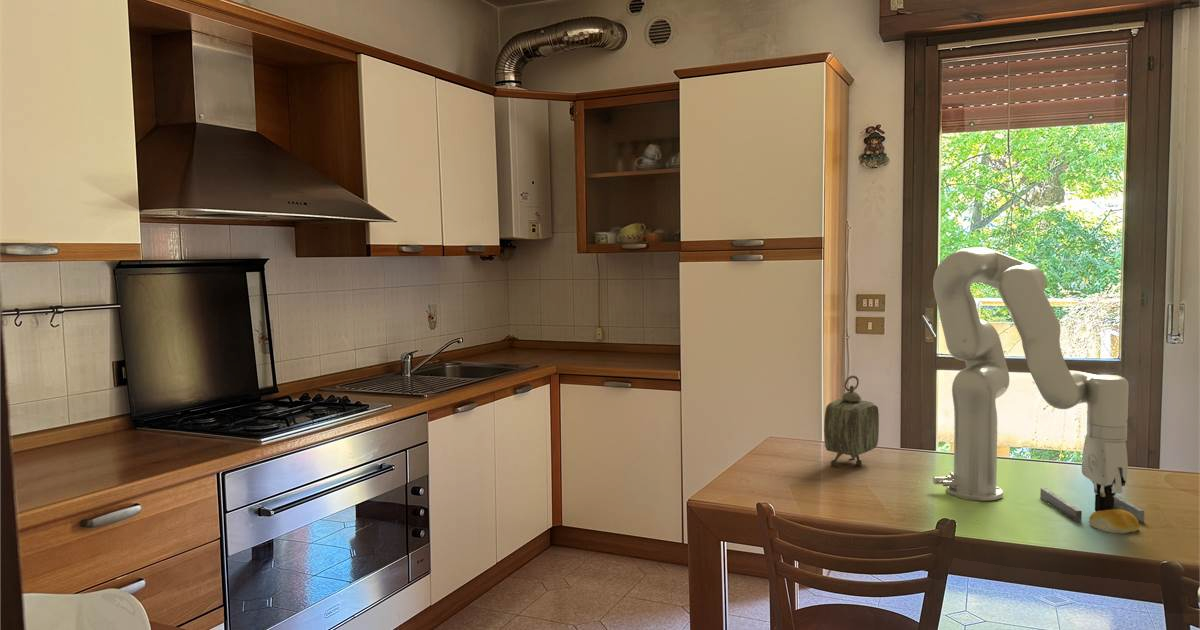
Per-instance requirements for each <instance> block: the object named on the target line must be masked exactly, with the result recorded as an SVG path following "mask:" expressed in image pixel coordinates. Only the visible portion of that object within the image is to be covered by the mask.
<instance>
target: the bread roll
mask: <svg viewBox="0 0 1200 630" xmlns="http://www.w3.org/2000/svg"><path fill="white" fill-rule="evenodd" d="M1088 522H1089V524H1090V526H1091V527H1093V528H1094V529H1097V530H1100V531H1103V532H1104V533H1105V532H1106V533H1109V534H1110V533H1111V534H1128V533H1133V532H1134V533H1135V532H1137V531H1138V530H1139V529H1140V522H1138V520H1137V518H1136V517H1135V516H1134V515H1133V514H1131V513H1130V512H1128V511H1125V510H1122V509H1115V508H1114V509H1111V510H1103V511H1094V512H1092V513H1091V514H1090V516H1089V518H1088Z"/></svg>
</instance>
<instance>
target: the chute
mask: <svg viewBox="0 0 1200 630" xmlns="http://www.w3.org/2000/svg"><path fill="white" fill-rule="evenodd" d="M1039 497H1040V500H1042V501H1043V502H1045V503H1046V504H1048V503H1049V504H1048V505H1050V506H1051V507H1053V508H1054V509H1055V510H1057V511H1058V512H1060V513H1062V514H1063V515H1065V516H1066V517H1067V518H1069V519H1071V520H1072V521H1074V522H1075V523H1082V513H1083V511H1082V510H1081V509H1080V508H1078V507H1076V506H1075V505H1073V504H1072V503H1070V502H1069V501H1067V500H1065V499H1064V498H1062V497H1060V496H1059V495H1057V494H1056V493H1054V492H1053V491H1051V490H1050V489H1048V488H1046V487H1041V488H1040V496H1039ZM1114 509H1122V510H1125V511H1128V512H1130V513H1131V514H1133V515H1134V516H1135V517H1136V518H1137V520H1138V522H1139V523H1140V522H1141V523H1142V522H1145V510H1144V509H1142V508H1140V507H1139V506H1137V505H1135V504H1133V503H1132V502H1129V501H1128V500H1126V499H1124V498H1122V497H1120V496H1119V495H1117V494H1116V496H1115V497H1114Z"/></svg>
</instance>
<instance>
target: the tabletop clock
mask: <svg viewBox="0 0 1200 630" xmlns="http://www.w3.org/2000/svg"><path fill="white" fill-rule="evenodd" d="M851 379H855V380H856V385H855V386H853V385H850V386H849V388H848V387H847V384H848V382H849V380H851ZM859 384H860V383H859V378H858V377H857V376H856V375H849V376H848V377H847V378H846V379H845V382H844V389H845V391H847V392H845V393H844V394H843V395H842V398H838V399H836V400H833V401H831V402H829V403H828V404H827V405H826V407H825V412H824V419H823V420H824V422H823V423H824V425H823V432H824V433H823V435H824V436H823V437H824V445H825V447H824V448H825V450H826V451H828V452H832V453H837V454H836V456H835V458H834V459H833V460H831V461H830V466H832V467H836V466H837V461H838V460H839V458H840V457H841V456H842V455H847V456H850V458H852V459H855V458H856V461H855V464H856V466H858V467H859V466H861V465H862V464H863V461H862V460H861V459H860V456H859V455H863V454H865V453H868V452H871V451H872V450H874V449H876V448H877V446H878V443H879V437H880V436H879V433H880V431H879V430H880V420H879V419H880V418H879V417H880V415H879V407H878V406H877V405H876V404H874V402H872V401H867V400H862V397H861V395H860V394H859V393H858V392H856V391H855V390H856V389H857V388H858V387H859Z"/></svg>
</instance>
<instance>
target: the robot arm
mask: <svg viewBox="0 0 1200 630" xmlns="http://www.w3.org/2000/svg"><path fill="white" fill-rule="evenodd" d="M933 274H934V275H933V281H932V286H933V293H934V297H935V298H934V299H935V301H936V304H937V308H938V314H939V318H940V323H941V327H942V332H943V336H944V339H945V340H944V341H945V344H946V349H947V350H948V352H949V354H950V355H951V357H953V358H954V359H956V360H959V361H962V362H963V361H964V362H965V366H966V367H965V368H962V369H961V370H959V372H957V374H956V375H955V376H954V379H953V381H952V387H951V393H952V403H953V413H954V415H953V416H954V418H953V420H954V422H953V423H954V425H953V430H954V435H953V438H954V439H953V441H954V442H953V447H954V448H953V471H949V474H948V475H946V476H933V477H932V481H933V482H932V483H933V485H941V486H942V487H946V491H947V493H949V494H950V495H952V496H954V497H955V498H961V499H965V500H968V501H969V500H971V501H979V502H980V501H981V502H982V501H983V502H986V501H988V502H989V501H997V500H1000V499H1001V498H1003V496H1004V490H1003V489H1002V488H1001V487H999V486H997V471H998V470H997V467H998V466H997V463H998V462H997V461H998V412H997V404H996V399H997V398H999V397H1001V396H1003V395H1004V394H1005V393H1006V391H1007V390H1008V388H1009V386H1010V374H1009V368H1008V365H1007V361H1006V356H1005V353H1004V349H1003V346H1002V345H1003V344H1002V342H1001V339H1000V338H1001V337H1000V335H999V333H998V331H997V330H996V328H995V327H994V326H993V325H992V324H991V323H990V322H989V321H986V320H984V319H981V318H980V316H979V312H978V306H977V303H976V301H975V298H974V295H973V293H972V292H971V285H972V284H977V283H981V284H984V285H987V286H989V287H991V288H994V289H996V290H998V293H999V295H1000V297H1001V300H1002V301H1003V303H1004V305H1005V308H1006V309H1007V311H1008V314H1009V316H1010V318H1011V320H1012V322H1013V324H1014V326H1015V328H1016V330H1017V333H1018V334H1019V337H1020V340H1021V345H1022V348H1023V353H1024V358H1025V360H1026V364H1027V367H1028V370H1029V372H1030V375H1031V377H1032V379H1033V381H1034V383H1035V385H1036V387H1037V390H1038V391H1039V394H1040V395H1041V396H1042V398H1043V400H1045V402H1046V403H1047V404H1048V405H1049V406H1051V407H1052V408H1055V409H1058V410H1068V409H1069V410H1070V409H1071V408H1074V407H1075V406H1077V405H1080V404H1085V403H1086V404H1087V405H1086V406H1087V410H1086V411H1087V412H1086V413H1087V414H1086V435H1085V439H1084V444H1083V450H1082V458H1081V459H1082V460H1081V474H1082V475H1083V476H1084V477H1085V478H1087V479H1088V480H1090V481H1091V482H1092V484H1093V492H1094V494H1095V495H1094V512H1096V511H1103V510H1111V509H1115V508H1114V497H1115V496H1116V495H1117V494H1123V487H1125V486H1126V485H1127V483H1128V476H1129V473H1128V472H1129V470H1128V469H1129V467H1128V464H1129V463H1128V450H1127V442H1126V441H1127V440H1128V419H1129V418H1128V417H1129V414H1128V413H1129V412H1128V410H1129V389H1130V388H1129V387H1130V386H1129V381H1128V380H1127V379H1126V378H1125V377H1124V376H1123V377H1122V376H1120V375H1113V374H1093V373H1088V372H1083V371H1079V370H1069V368H1068V366H1067V363H1066V361H1065V359H1064V356H1063V353H1062V349H1061V343H1060V341H1061V339H1060V338H1061V325H1060V321H1059V319H1058V317H1057V315H1056V313H1055V311H1054V309H1053V307H1052V305H1051V304H1050V301H1049V299H1048V297H1047V295H1046V292H1045V290H1046V288H1047V283H1048V282H1047V277H1046V274H1045V273H1044V272H1043V270H1042V269H1040V268H1039V267H1037V266H1035V265H1034V264H1031V263H1028V262H1026V261H1023V260H1020V259H1018V258H1015V257H1012V256H1010V255H1006V254H1004V253H1003V252H1002V253H1001V252H999V251H996V250H993V249H990V248H986V247H967V248H961V249H958V250H956V251H954V252H951V253H950V254H948V255H947V256H946V257H945V258H944V259H943V260H941V262H940V263H939V264H938V266H937V268H936V269H935V271H934V273H933Z"/></svg>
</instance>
